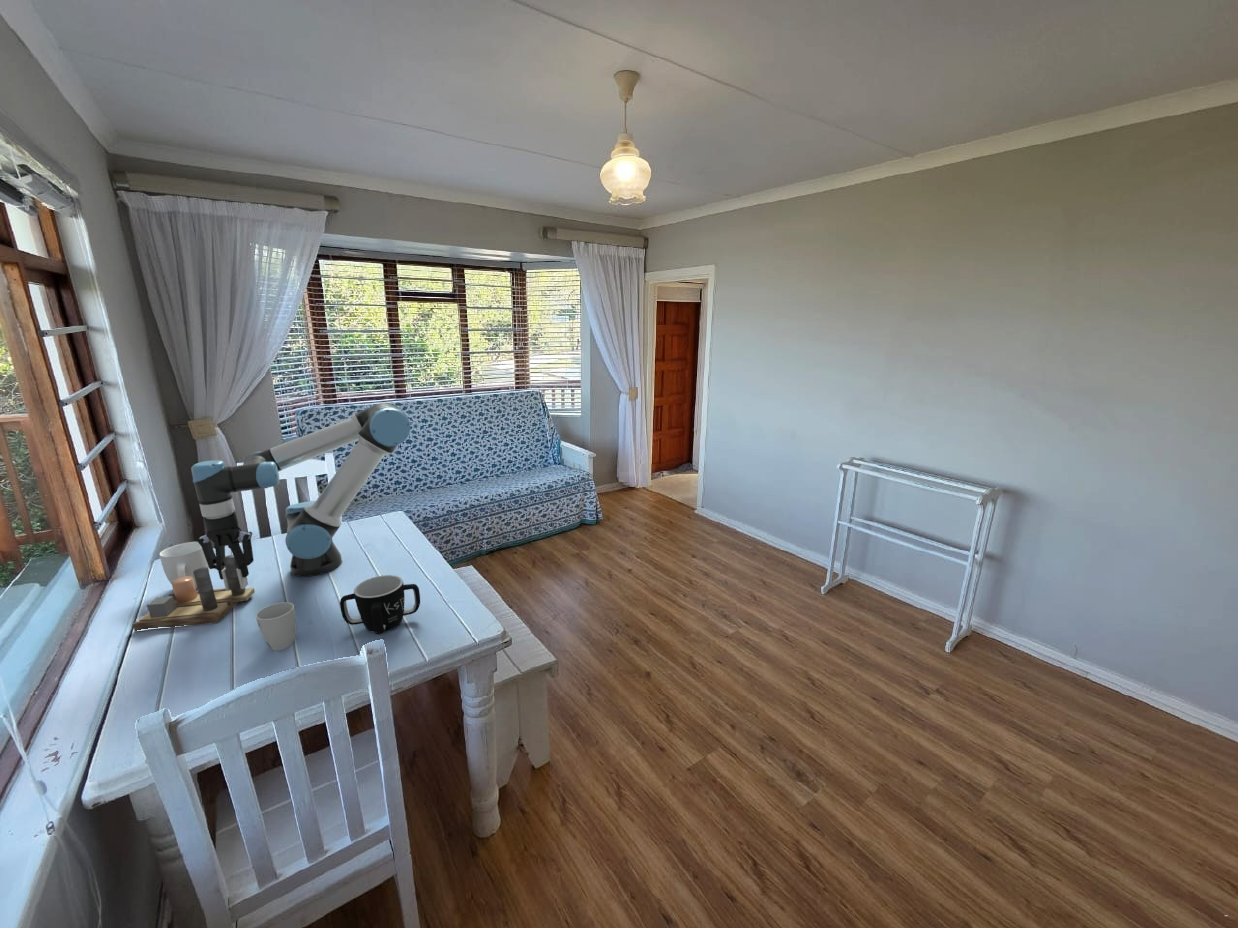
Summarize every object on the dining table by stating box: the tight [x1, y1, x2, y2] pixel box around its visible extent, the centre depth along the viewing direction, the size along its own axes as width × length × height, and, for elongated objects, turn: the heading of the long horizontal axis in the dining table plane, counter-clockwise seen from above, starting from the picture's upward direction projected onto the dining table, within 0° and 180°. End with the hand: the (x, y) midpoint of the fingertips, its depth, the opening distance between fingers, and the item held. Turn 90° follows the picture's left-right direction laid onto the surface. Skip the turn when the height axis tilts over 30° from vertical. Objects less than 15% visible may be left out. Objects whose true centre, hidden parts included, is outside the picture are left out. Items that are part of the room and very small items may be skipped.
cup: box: [255, 601, 297, 652], centre depth 128 cm, size 8×8×10 cm
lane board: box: [131, 587, 240, 632], centre depth 145 cm, size 20×16×2 cm
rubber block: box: [146, 595, 177, 618], centre depth 139 cm, size 4×4×4 cm
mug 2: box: [339, 574, 421, 635], centre depth 136 cm, size 16×16×12 cm
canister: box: [170, 576, 198, 603], centre depth 146 cm, size 5×5×6 cm
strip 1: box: [138, 567, 228, 622], centre depth 139 cm, size 19×5×13 cm, turn 102°
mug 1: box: [159, 541, 211, 590], centre depth 156 cm, size 15×11×13 cm
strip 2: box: [175, 554, 256, 605], centre depth 147 cm, size 19×5×13 cm, turn 102°
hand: (237, 587), depth 149 cm, fingers closed on strip 2, 3 cm apart
